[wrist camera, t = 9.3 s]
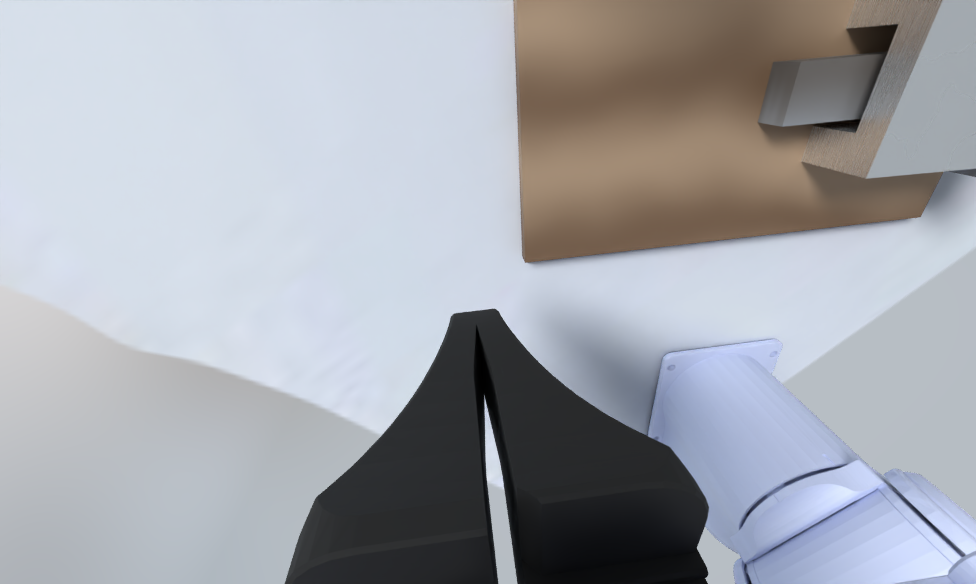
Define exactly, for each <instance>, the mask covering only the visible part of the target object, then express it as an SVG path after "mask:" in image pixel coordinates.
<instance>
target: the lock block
mask: <svg viewBox="0 0 976 584" xmlns="http://www.w3.org/2000/svg"><path fill="white" fill-rule="evenodd" d="M892 25H898V27H897V30H896V32H895V35H894V37H893V40H892V42H891V45H890V47H889V50H888V53H887V55H886V58H885V60H884V63H883V65H882V68H881V70H880V73H879V75H878V78H877V80H876V83H875V86H874V88H873V91H872V93H871V96H870V98H869V101H868V103H867V106H866V108H865V111H864V114H863V116H862V119H861V121H860V122H857V123H845V124H833V125H821V126H813V127H812V130H811V133H810V136H809V139H808V142H807V145H806V148H805V151H804V154H803V157H802V160H801V162H805V163H809V164H813V165H817V166H820V167H824V168H828V169H832V170H835V171H839V172H843V173H847V174H850V175H854V176H858V177H862V178H865V179H868V178H879V177H889V176H900V175H911V174H922V173H933V172H944V171H954V170H965V169H976V0H855V3H854V6H853V9H852V12H851V15H850V18H849V21H848V24H847V27H846V29H848V28H863V27H878V26H892Z"/></svg>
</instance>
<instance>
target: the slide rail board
mask: <svg viewBox="0 0 976 584" xmlns="http://www.w3.org/2000/svg"><path fill="white" fill-rule="evenodd" d="M513 1H514V29H515V58H516V86H517V115H518V144H519V172H520V201H521V229H522V256H523V259H524V261H525V263H526V262H535V261H543V260H552V259H561V258H570V257H578V256H587V255H596V254H604V253H613V252H622V251H630V250H639V249H648V248H656V247H665V246H674V245H682V244H691V243H700V242H708V241H717V240H726V239H735V238H743V237H752V236H761V235H769V234H778V233H787V232H795V231H804V230H813V229H821V228H830V227H839V226H847V225H856V224H865V223H873V222H882V221H891V220H900V219H908V218H917V217H921V215H922V213H923V211H924V209H925V207H926V205H927V203H928V201H929V199H930V197H931V195H932V193H933V191H934V189H935V187H936V185H937V184H938V182H939V180H940V178H941V176H942V174H943V172H933V173H922V174H911V175H900V176H889V177H879V178H868V179H865V178H862V177H858V176H854V175H850V174H847V173H843V172H839V171H835V170H832V169H828V168H824V167H820V166H817V165H813V164H809V163H805V162H801V160H802V157H803V154H804V151H805V148H806V145H807V142H808V139H809V136H810V133H811V130H812V127H813V126H821V125H833V124H845V123H857V122H860V121H861V119H862V116H863V114H864V111H865V108H866V106H867V103H868V101H869V98H870V96H871V93H872V91H873V88H874V86H875V83H876V80H877V78H878V75H879V73H880V70H881V68H882V65H883V63H884V60H885V58H886V55H887V53H888V50H889V47H890V45H891V42H892V40H893V37H894V35H895V32H896V30H897V27H898V25H892V26H878V27H863V28H848V29H846V27H847V24H848V21H849V18H850V15H851V12H852V9H853V6H854V3H855V0H513ZM950 172H955V173H959V174H964V175H969V176H974V177H976V169H965V170H954V171H950Z"/></svg>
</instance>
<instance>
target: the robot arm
mask: <svg viewBox="0 0 976 584" xmlns="http://www.w3.org/2000/svg"><path fill="white" fill-rule="evenodd" d="M782 346H783V345H782V343H781V342H780V341H779V340H777V339H772V340H764V341H757V342H749V343H741V344H733V345H726V346H718V347H710V348H702V349H695V350H687V351H679V352H671V353H668V354H666V355H665V356H664V357H663V360H662V365H661V370H660V375H659V380H658V385H657V390H656V395H655V400H654V405H653V410H652V415H651V420H650V426H649V431H648V436H646V435H644V434H642V433H640V432H638V431H636V430H634V429H632V428H630V427H628V426H626V425H624V424H622V423H621V422H619V421H617V420H615V419H614V418H612V417H610V416H608V415H607V414H605V413H603V412H602V411H600V410H599V409H597V408H596V407H594V406H593V405H591V404H590V403H588V402H587V401H585V400H584V399H582V398H581V397H579V396H578V395H576V394H575V393H574V392H573V391H571V390H570V389H569V388H567V387H566V386H565V385H564V384H562V383H561V382H560V381H559V380H558V379H556V378H555V377H554V376H553V375H552V374H551V373H549V372H548V371H547V370H546V369H545V368H544V367H543V366H542V365H541V364H540V363H539V362H538V361H537V360H536V359H535V358H534V357H533V356H532V355H531V354H530V353H529V352H528V350H527V349H526V348H525V347H524V346H523V345H522V344H521V342H520V341H519V340H518V339H517V338H516V336H515V335H514V334H513V333H512V331H511V330H510V329H509V327H508V326H507V324H506V323H505V322H504V320H503V318H502V317H501V315H500V313H499V311H497V310H496V309H488V310H480V311H471V312H463V313H455V314H453V315H452V316H451V319H450V323H449V327H448V330H447V332H446V335H445V338H444V340H443V342H442V345H441V347H440V349H439V351H438V353H437V356H436V358H435V360H434V362H433V363H432V365H431V367H430V369H429V371H428V372H427V374H426V376H425V378H424V380H423V381H422V383H421V384H420V386H419V388H418V389H417V391H416V392H415V394H414V395H413V397H412V398H411V399H410V401H409V402H408V404H407V405H406V407H405V408H404V409H403V410H402V412H401V413H400V414H399V415H398V417H397V418H396V419H395V421H394V422H393V423H392V424H391V426H390V427H389V428H388V429H387V430H386V431H385V433H384V434H383V435H382V436H381V437H380V438H379V439H378V440H377V441H376V442H375V443H374V444H373V445H372V446H371V448H370V449H369V450H368V451H367V452H366V453H365V454H364V455H363V456H362V457H361V458H360V459H359V460H358V461H357V462H356V463H355V464H354V465H353V466H352V467H351V468H350V469H349V470H347V471H346V472H345V473H344V474H343V475H342V476H341V477H339V478H338V479H337V480H336V481H335V482H334V483H333V484H331V485H330V486H329V487H328V488H327V489H326V490H325V491H323V492H322V493H321V494H320V495H318V496H317V497H316V499H315V501H314V503H313V505H312V508H311V510H310V513H309V515H308V517H307V519H306V522H305V524H304V526H303V529H302V531H301V534H300V536H299V539H298V542H297V545H296V548H295V552H294V555H293V558H292V562H291V565H290V568H289V572H288V575H287V578H286V582H285V584H498V578H497V568H496V559H495V550H494V541H493V532H492V523H491V514H490V505H489V496H488V487H487V478H486V462H485V412H484V395H485V400H486V404H487V408H488V412H489V417H490V421H491V425H492V429H493V434H494V438H495V442H496V446H497V451H498V455H499V459H500V464H501V470H502V475H503V482H504V489H505V496H506V503H507V510H508V517H509V524H510V531H511V538H512V546H513V554H514V561H515V568H516V576H517V583H518V584H708V583H707V581H706V579H705V578H706V577H707V576H708V571H707V567H706V565H705V563H704V561H703V560H702V558H701V556H700V554H699V552H698V550H697V546H698V543H699V540H700V537H701V535H702V532H703V530H704V527H706V528H707V530H708V531H709V532H710V533H711V534H712V535H713V536H714V537H715V538H716V539H717V540H718V541H720V542H721V543H722V544H723V545H725V546H726V547H728V548H729V549H731V550H732V551H734V552H736V553H738V554H739V555H740V556H741V558H740V559H738V560H737V561H736V562H735V564H734V571H733V572H734V579H735V584H976V520H975V519H974V518H973V517H971V516H970V515H969V514H968V513H967V512H966V511H964V510H963V509H962V508H961V507H960V506H958V505H957V504H956V503H955V502H954V501H952V500H951V499H950V498H949V497H948V496H946V495H945V494H944V493H943V492H941V491H940V490H939V489H938V488H937V487H936V486H934V485H933V484H932V483H931V482H929V481H928V480H927V479H926V478H924V477H923V476H922V475H920V474H916V473H911V472H902V471H901V470H899V469H892V470H890V471H889V472H887V473H885V474H884V476H885V477H886V478H885V477H884V476H883V475H881V474H880V473H878V472H877V471H876V470H874V469H873V468H872V467H870V466H869V465H868V464H867V463H866V462H865V461H863V460H862V459H861V458H860V457H859V456H858V455H857V454H856V453H855V452H854V451H853V450H852V449H851V448H850V447H849V446H847V445H846V444H845V443H844V442H843V441H842V440H841V439H840V438H839V437H838V436H837V435H836V434H835V433H834V432H832V431H831V430H830V429H829V428H828V427H827V426H826V425H825V424H824V423H823V422H822V421H821V420H820V419H819V418H818V417H817V416H815V415H814V414H813V413H812V412H811V411H810V410H809V409H808V408H807V407H806V406H805V405H804V404H803V403H802V402H800V401H799V400H798V399H797V398H796V397H795V396H794V395H793V394H792V393H791V392H790V391H789V390H788V389H787V388H785V387H784V386H783V385H782V384H781V383H780V382H779V381H778V380H777V379H776V378H775V377H774V376H773V375H772V372H773V370H774V367H775V365H776V362H777V360H778V357H779V354H780V352H781V349H782ZM670 365H671V366H670ZM668 366H669V367H668Z"/></svg>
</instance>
